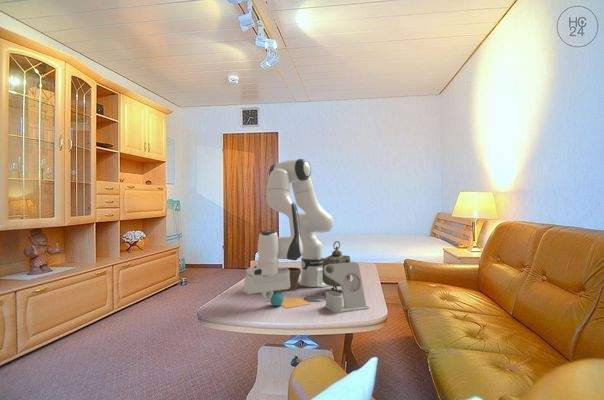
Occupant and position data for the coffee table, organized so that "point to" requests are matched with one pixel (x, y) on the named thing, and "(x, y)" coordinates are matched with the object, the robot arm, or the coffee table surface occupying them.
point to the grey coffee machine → (345, 288)
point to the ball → (276, 299)
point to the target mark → (293, 302)
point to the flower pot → (294, 277)
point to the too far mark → (314, 298)
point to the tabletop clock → (334, 259)
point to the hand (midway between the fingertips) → (267, 301)
